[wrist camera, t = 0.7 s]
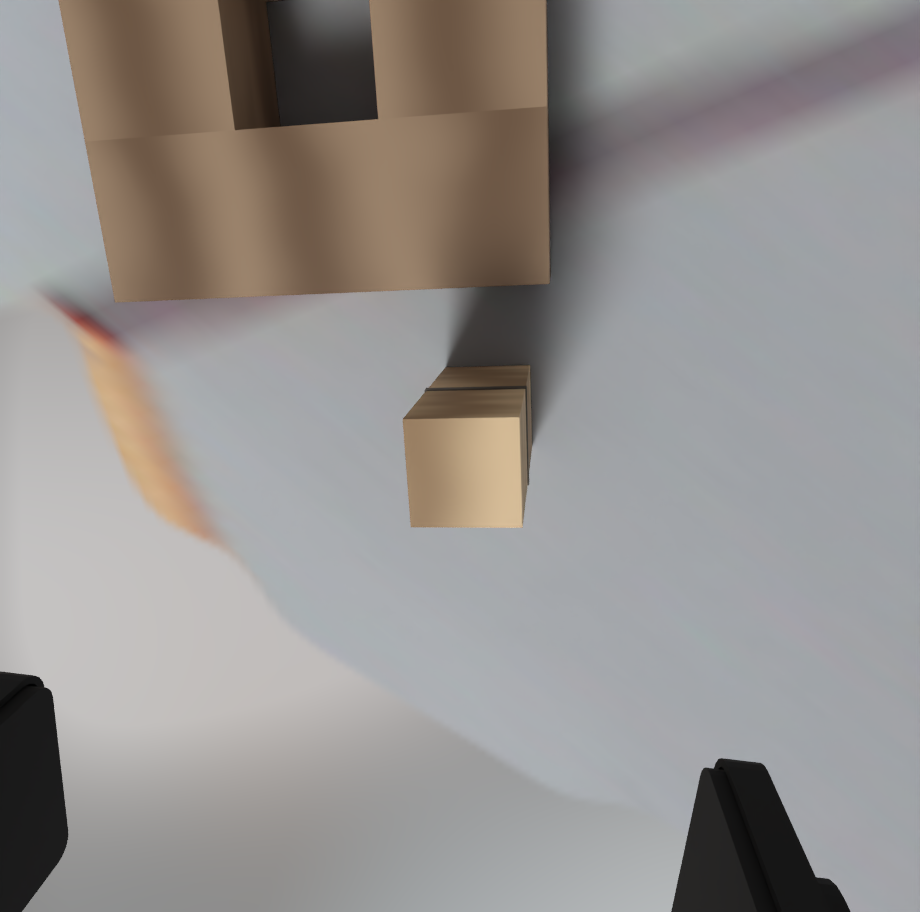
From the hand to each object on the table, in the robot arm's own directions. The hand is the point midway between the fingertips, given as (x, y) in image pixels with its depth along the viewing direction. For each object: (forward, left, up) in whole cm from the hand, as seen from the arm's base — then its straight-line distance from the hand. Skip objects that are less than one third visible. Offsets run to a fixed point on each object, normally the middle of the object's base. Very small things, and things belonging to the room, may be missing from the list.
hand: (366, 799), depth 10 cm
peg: (+1, 0, -25) cm, 25 cm away
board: (+7, -15, -25) cm, 30 cm away
